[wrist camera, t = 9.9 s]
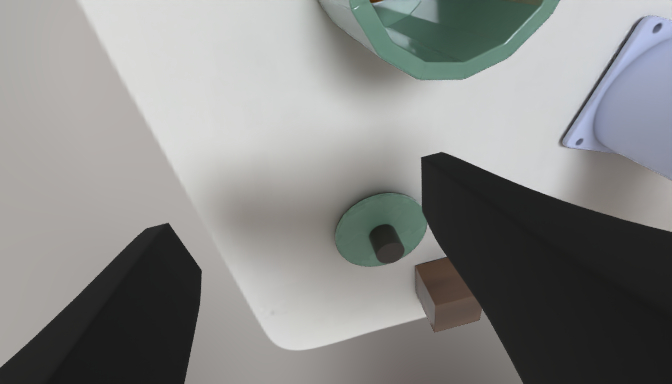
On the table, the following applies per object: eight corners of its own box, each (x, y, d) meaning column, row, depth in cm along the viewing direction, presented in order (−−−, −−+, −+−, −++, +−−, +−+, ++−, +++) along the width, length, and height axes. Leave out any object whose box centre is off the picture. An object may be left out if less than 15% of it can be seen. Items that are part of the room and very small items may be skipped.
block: (456, 281, 29) (479, 320, 26) (415, 292, 29) (434, 333, 26) (459, 253, 27) (485, 292, 23) (415, 265, 26) (435, 305, 23)
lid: (421, 177, 21) (439, 202, 19) (422, 245, 25) (438, 272, 23) (325, 203, 21) (332, 231, 19) (342, 267, 25) (349, 296, 23)
